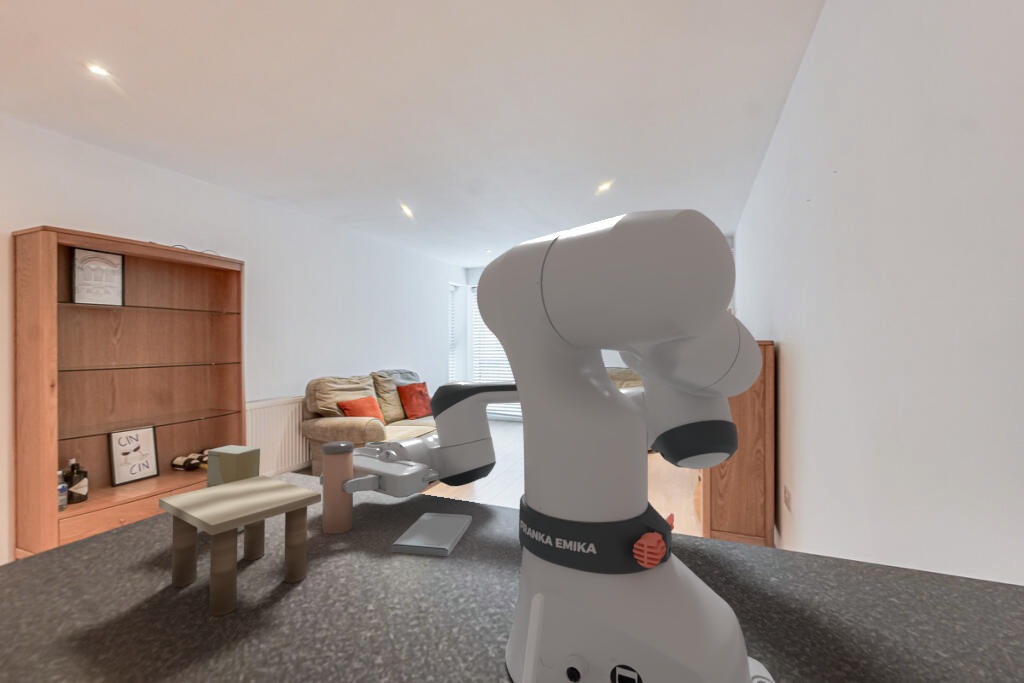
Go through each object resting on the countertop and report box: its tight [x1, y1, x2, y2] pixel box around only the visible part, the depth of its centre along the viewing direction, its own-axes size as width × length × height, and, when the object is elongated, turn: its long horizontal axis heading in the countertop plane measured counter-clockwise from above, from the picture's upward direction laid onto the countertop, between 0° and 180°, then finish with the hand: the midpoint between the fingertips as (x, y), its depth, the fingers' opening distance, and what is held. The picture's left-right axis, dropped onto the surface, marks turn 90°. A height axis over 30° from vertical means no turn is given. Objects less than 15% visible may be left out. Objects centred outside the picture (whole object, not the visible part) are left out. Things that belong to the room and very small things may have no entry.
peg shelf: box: [158, 475, 322, 617], centre depth 54 cm, size 14×12×10 cm
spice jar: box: [321, 440, 355, 535], centre depth 69 cm, size 5×5×13 cm
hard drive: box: [390, 512, 473, 557], centre depth 67 cm, size 2×8×12 cm
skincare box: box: [206, 444, 261, 534], centre depth 70 cm, size 6×4×12 cm
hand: (333, 484), depth 68 cm, fingers closed on spice jar, 4 cm apart
